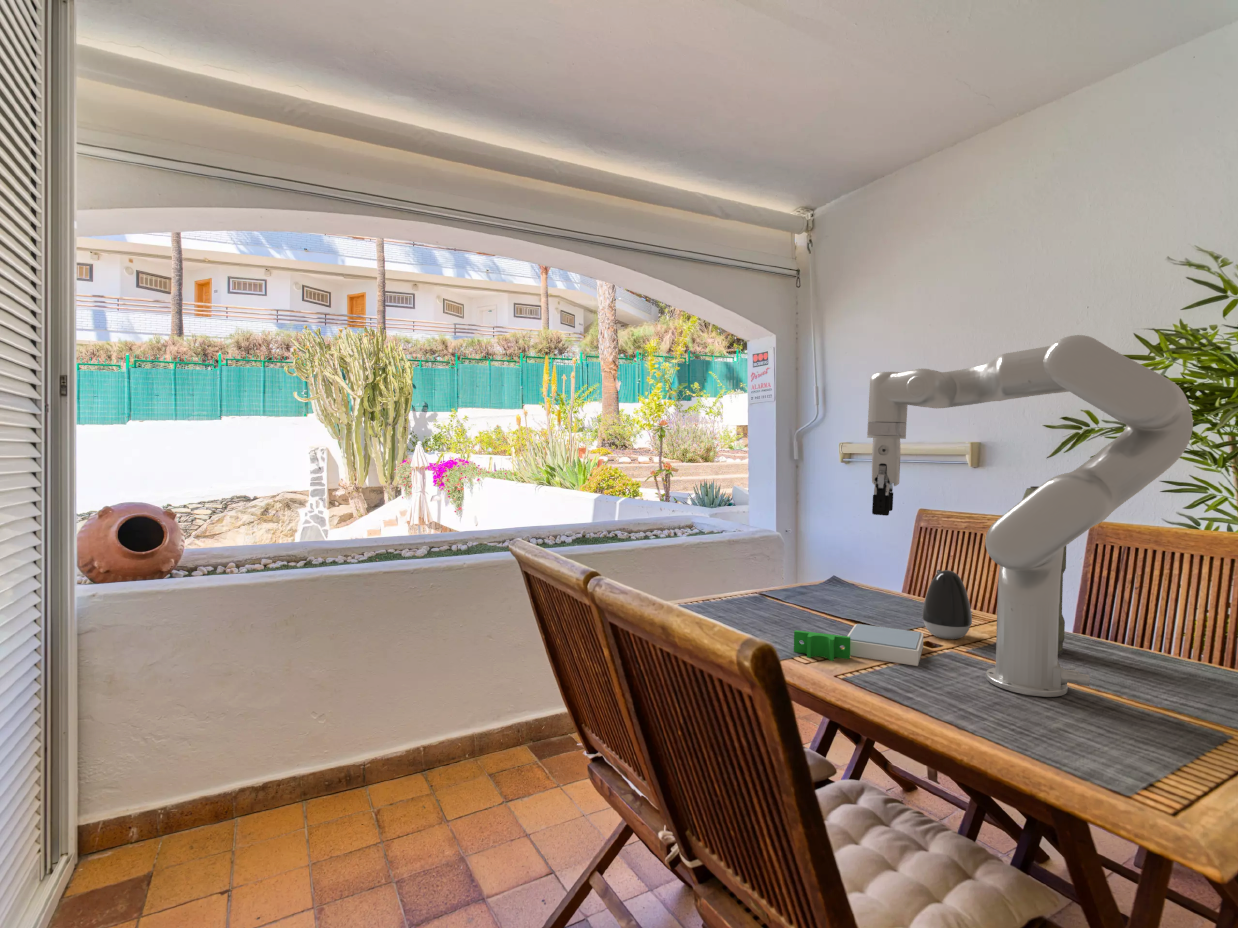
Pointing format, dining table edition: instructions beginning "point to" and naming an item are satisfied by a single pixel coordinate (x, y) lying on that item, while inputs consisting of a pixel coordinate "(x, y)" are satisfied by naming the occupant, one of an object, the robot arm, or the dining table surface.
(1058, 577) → the robot arm
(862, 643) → the stand
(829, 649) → the pipe clamp
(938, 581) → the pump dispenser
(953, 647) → the dining table surface
